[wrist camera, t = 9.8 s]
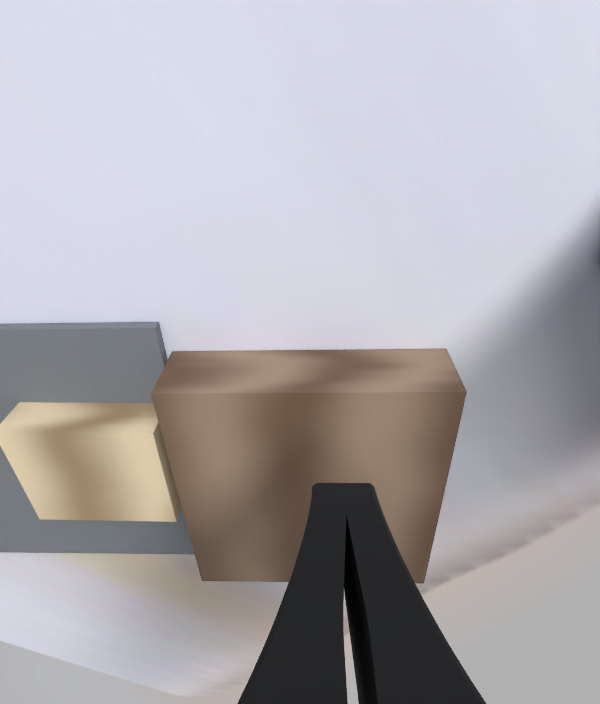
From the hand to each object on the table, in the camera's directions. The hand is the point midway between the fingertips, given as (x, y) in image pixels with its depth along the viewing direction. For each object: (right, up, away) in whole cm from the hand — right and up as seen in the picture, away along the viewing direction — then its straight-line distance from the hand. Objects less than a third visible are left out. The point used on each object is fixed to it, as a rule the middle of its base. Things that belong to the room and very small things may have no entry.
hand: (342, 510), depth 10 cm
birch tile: (-11, -1, +12) cm, 16 cm away
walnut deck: (0, -2, +12) cm, 12 cm away
